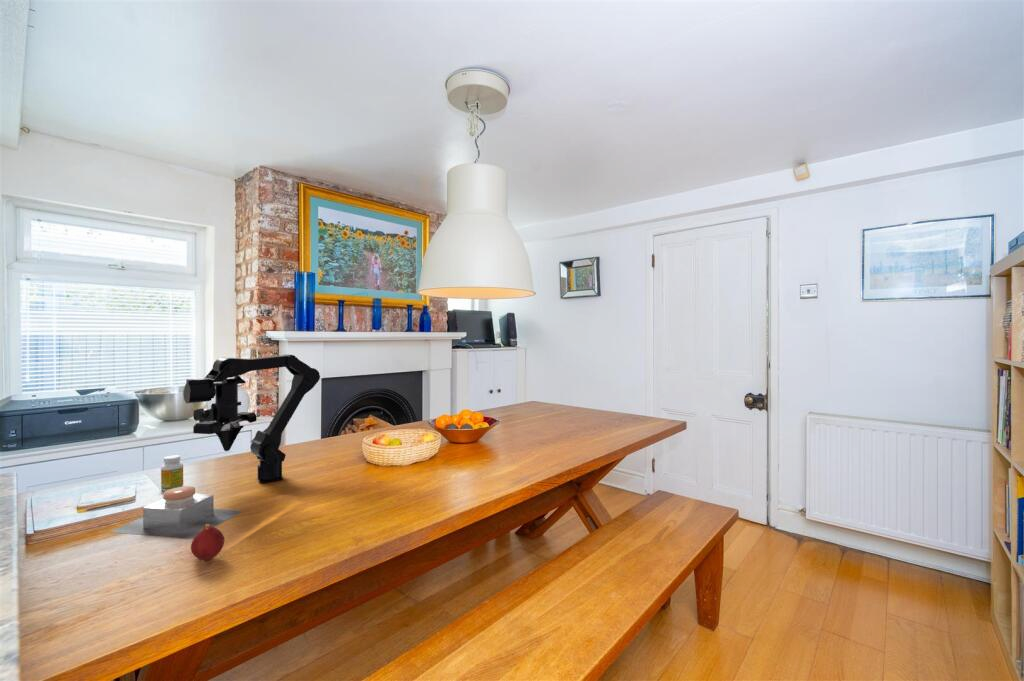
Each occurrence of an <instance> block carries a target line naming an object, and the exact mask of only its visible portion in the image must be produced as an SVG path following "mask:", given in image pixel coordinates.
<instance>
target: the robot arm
mask: <svg viewBox="0 0 1024 681" xmlns="http://www.w3.org/2000/svg"><path fill="white" fill-rule="evenodd" d="M279 368H285V369H287V371H288V372H289V373H290V374H292V375H293V377H292V380H291V385H290V386H291V387H290V390H289V392H288V393H287V394H286V397H285V398H284V400H283V402H282V404H281V405H280V406H279V408H278V409H277V412H276V413H275V415H273V418H272V420H271V421H270V423H269V424H268V426H267V428H265V429H264V430H263V431H261V430H257V432H256V433H255V435H254V438H253V439H251V440H250V443H251V444H250V452H251V454H253V455H255V456H256V459H257V460H259V461H258V462H259V464H258V465H257V466H256V468H257V481H259V483H260V484H264V483H265V484H266V483H272V482H277V481H283V480H284V477H283V462H284V461H285V459H286V455H287V454H286V453H284V452H283V451H282V450H280V446H281V443H282V435H283V432H284V431H285V429H286V428H287V425H288V424H289V423H290V421H291V419H292V417H293V415H294V414H295V412H296V411H297V408H298V407H299V405H300V403H301V402H302V400H303V398H304V397H305V395H306V394H307V393H309V392H310V391H311V390H313V389H314V388H315V386H316V385H317V383H318V382H319V381H320V378H321V375H320V372H319V371H318V369H316V368H314V367H311V366H309V365H308V364H306V363H305V362H303V361H302V360H300V359H299V357H297V356H295V355H294V354H282V355H273V356H264V357H263V356H262V357H253V358H237V357H219V358H217V359H216V360H215V361H213V364H212V368H211V369H210V371H209V372H208V373H207V374H206V376H205V377H204V378H197V379H195V378H194V379H193V378H189V379H186V380H185V382H186V384H184V389H183V390H182V391H183V393H182V394H183V399H184V402H185V403H186V404H194V403H196V404H197V403H205V402H211V401H212V399H215V402H213V403H211V406H210V408H209V409H206V410H205V409H204V408H197V409H194V410H193V413H192V414H193V420H194V421H195V422H196V423H195V424H194V425H193V426H192V427H193V428H192V430H193V434H196V435H197V434H198V435H200V434H201V435H212V434H213V435H214V434H215V435H217V437H218V440H219V441H220V444H221V446H222V449H223V450H224V451H225V452H229V451H230V450H231V448H232V447H233V444H234V443H235V441H236V439H237V437H238V435H239V434H240V432H241V431H242V429H243V428H244V426H245V425H240V423H241V422H244V421H246V422H248V423H250V424H251V423H255V422H257V420H258V419H257V418H258V417H257V414H256V413H255V412H253V411H252V412H249V411H241V412H240V411H239V406H242V401H239V399H238V398H239V387H238V385H243V384H246V380H244V379H243V378H242V377H241V375H244V374H247V373H249V372H253V371H254V372H255V371H261V370H270V369H271V370H272V369H279ZM197 421H198V422H197Z"/></svg>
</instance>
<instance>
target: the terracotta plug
mask: <svg viewBox="0 0 1024 681" xmlns="http://www.w3.org/2000/svg"><path fill="white" fill-rule="evenodd" d="M162 494H163V499H164V500H165V504H168V505H182V504H184V503H186V502H188V501H191V500H193V495H194V494H196V487H195V486H183V487H177V488H173V489H170V490H167V491H163V493H162Z"/></svg>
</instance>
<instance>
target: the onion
mask: <svg viewBox="0 0 1024 681" xmlns="http://www.w3.org/2000/svg"><path fill="white" fill-rule="evenodd" d="M203 527H204V529H202V530H201V531H200V532H199V533H198V534H197V535H196V536H195V537H194V538H193V539H192V542H191V544H190V551H191V553H192V555H193V556H194V557H196V558H197V559H198V560H201V561H203V562H205V563H207V562H210V561H212V560H213V559H214V558H215V557H216V556H218V555H219V554H220V552H222V550H223V547H224V545H225V537H224V534H223V532H222V531H221V530H220V529H219V528H217V527H216V526H215V527H212V526H211V525H209V524H206V525H205V526H203Z"/></svg>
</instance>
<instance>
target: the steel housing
mask: <svg viewBox="0 0 1024 681" xmlns="http://www.w3.org/2000/svg"><path fill="white" fill-rule="evenodd" d="M214 500H215V498H214V494H208V493H207V494H206V493H205V494H204V493H195V494H194V495H193V500H191V501H188V502H186V503H184V504H182V505H168V504H165V500H164V499H160V500H158V501H155V502H154V503H151V504H148V505H146V506H143V507H142V517H143V528H148V529H160V530H172V531H182V530H183V529H185V528H187V527H189V526H191V525H193V524H195V523H197V522H199V521H201V520H203V519H205V518H207V517H209V516H211V515H213V514H214V509H215V507H214V506H215V505H214V503H215V502H214Z"/></svg>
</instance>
